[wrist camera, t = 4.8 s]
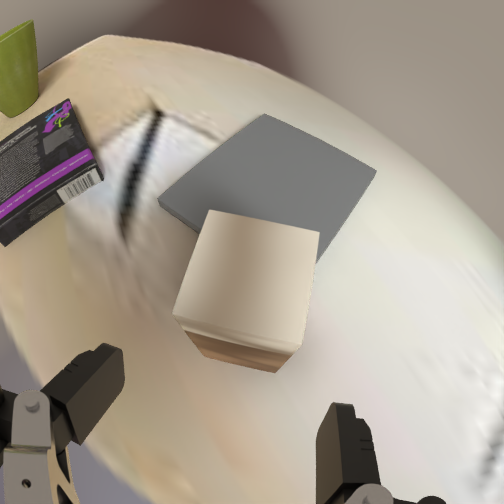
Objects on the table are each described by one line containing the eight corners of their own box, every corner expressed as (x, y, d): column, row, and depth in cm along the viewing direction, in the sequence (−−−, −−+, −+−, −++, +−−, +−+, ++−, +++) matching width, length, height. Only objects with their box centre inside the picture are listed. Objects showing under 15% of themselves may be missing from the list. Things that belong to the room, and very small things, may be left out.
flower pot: (-2, 110, 39) (-28, 54, 25) (54, 75, 43) (35, 15, 29) (-12, 143, 33) (-48, 76, 19) (55, 100, 37) (29, 24, 23)
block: (288, 306, 22) (319, 232, 13) (275, 373, 19) (302, 344, 10) (222, 292, 22) (209, 209, 13) (204, 356, 20) (171, 313, 11)
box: (107, 186, 28) (75, 112, 35) (97, 163, 25) (69, 94, 32) (6, 252, 24) (1, 158, 31) (-11, 235, 21) (-8, 142, 28)
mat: (373, 177, 28) (376, 170, 27) (291, 297, 22) (293, 292, 21) (263, 120, 32) (264, 113, 31) (159, 205, 26) (157, 198, 25)
